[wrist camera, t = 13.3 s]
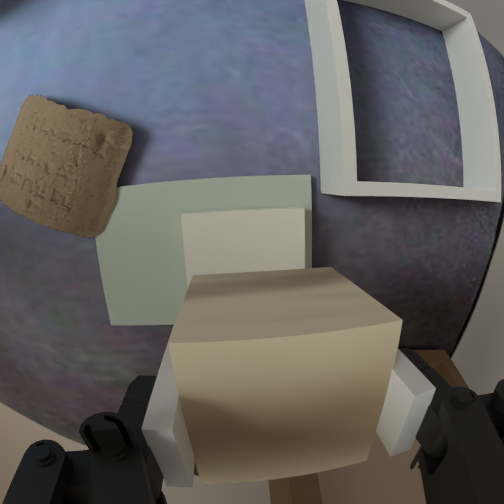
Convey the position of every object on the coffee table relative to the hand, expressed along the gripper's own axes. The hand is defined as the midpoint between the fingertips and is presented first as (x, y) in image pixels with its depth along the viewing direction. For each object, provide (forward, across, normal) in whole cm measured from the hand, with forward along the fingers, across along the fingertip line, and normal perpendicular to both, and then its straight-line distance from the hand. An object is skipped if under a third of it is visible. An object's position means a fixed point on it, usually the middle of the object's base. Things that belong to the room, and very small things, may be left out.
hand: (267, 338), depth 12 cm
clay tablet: (+12, -17, +10) cm, 23 cm away
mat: (+12, -4, +1) cm, 13 cm away
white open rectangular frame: (+13, +15, +16) cm, 25 cm away
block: (+1, 0, 0) cm, 1 cm away
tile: (+11, -5, 0) cm, 12 cm away
